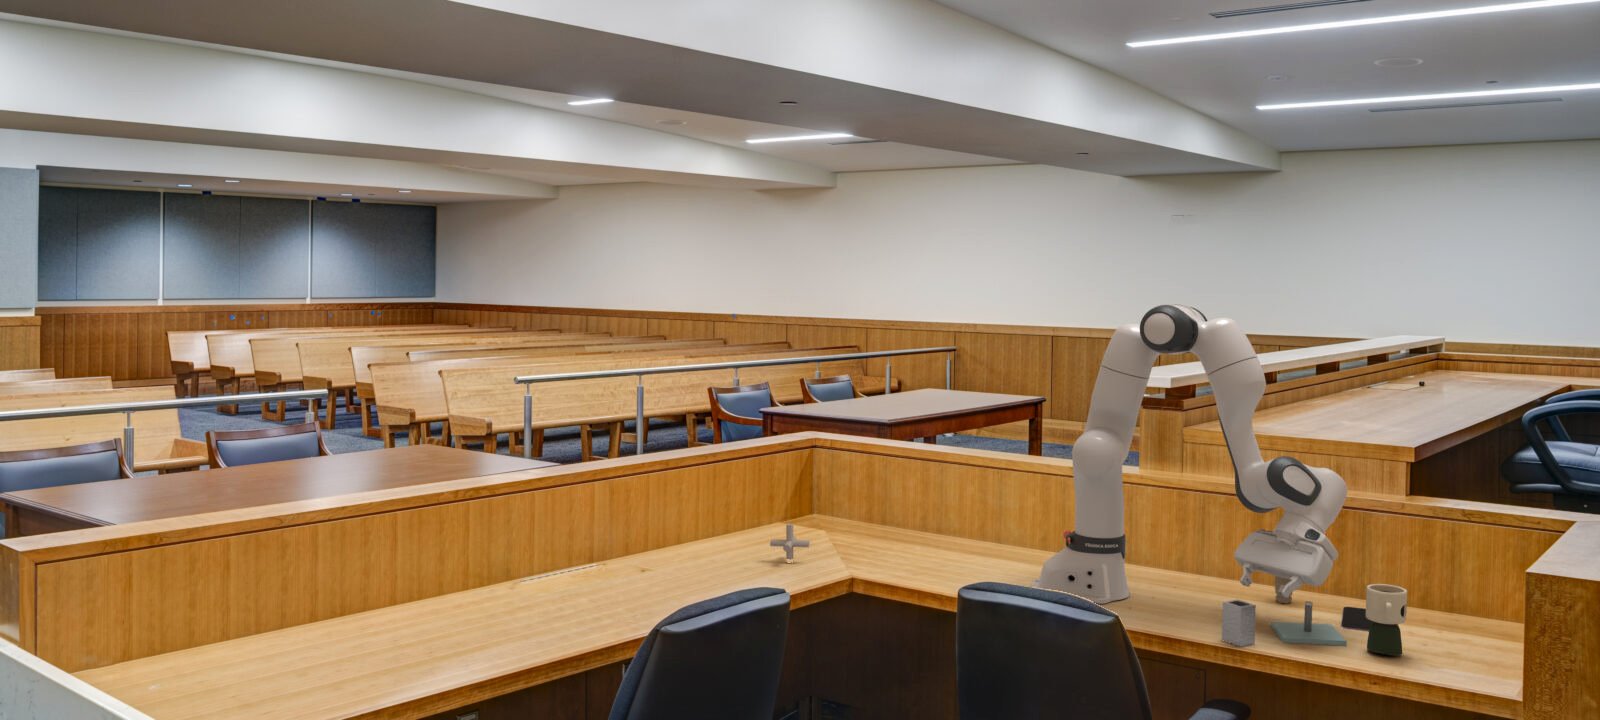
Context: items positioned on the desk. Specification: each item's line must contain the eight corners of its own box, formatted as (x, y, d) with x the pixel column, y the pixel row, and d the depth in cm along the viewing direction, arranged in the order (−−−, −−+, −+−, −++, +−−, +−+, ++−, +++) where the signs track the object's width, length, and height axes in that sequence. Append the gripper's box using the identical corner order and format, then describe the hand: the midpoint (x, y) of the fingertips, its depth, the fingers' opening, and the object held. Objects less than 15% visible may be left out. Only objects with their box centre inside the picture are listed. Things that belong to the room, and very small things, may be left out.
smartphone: (1340, 626, 242) (1343, 606, 255) (1340, 631, 242) (1343, 610, 255) (1379, 631, 238) (1380, 610, 252) (1379, 636, 239) (1379, 615, 252)
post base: (1283, 642, 232) (1284, 608, 232) (1270, 626, 243) (1271, 593, 242) (1346, 645, 230) (1347, 611, 229) (1331, 629, 241) (1332, 596, 240)
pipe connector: (806, 568, 290) (806, 529, 289) (767, 566, 292) (767, 528, 291) (811, 558, 300) (811, 521, 299) (774, 557, 301) (774, 519, 301)
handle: (1302, 604, 259) (1304, 539, 257) (1274, 605, 258) (1276, 539, 257) (1292, 598, 263) (1294, 534, 262) (1264, 599, 263) (1266, 534, 262)
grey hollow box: (1236, 637, 235) (1237, 599, 235) (1254, 643, 231) (1255, 605, 230) (1221, 640, 233) (1222, 602, 233) (1239, 647, 229) (1241, 607, 228)
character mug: (1408, 664, 219) (1410, 597, 218) (1366, 659, 222) (1369, 593, 221) (1401, 647, 229) (1403, 583, 228) (1361, 642, 232) (1364, 579, 231)
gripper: (1248, 518, 246) (1214, 569, 242) (1332, 537, 228) (1297, 592, 224) (1262, 536, 249) (1229, 587, 245) (1346, 556, 231) (1312, 611, 227)
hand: (1262, 589), depth 234 cm, fingers open, 8 cm apart
